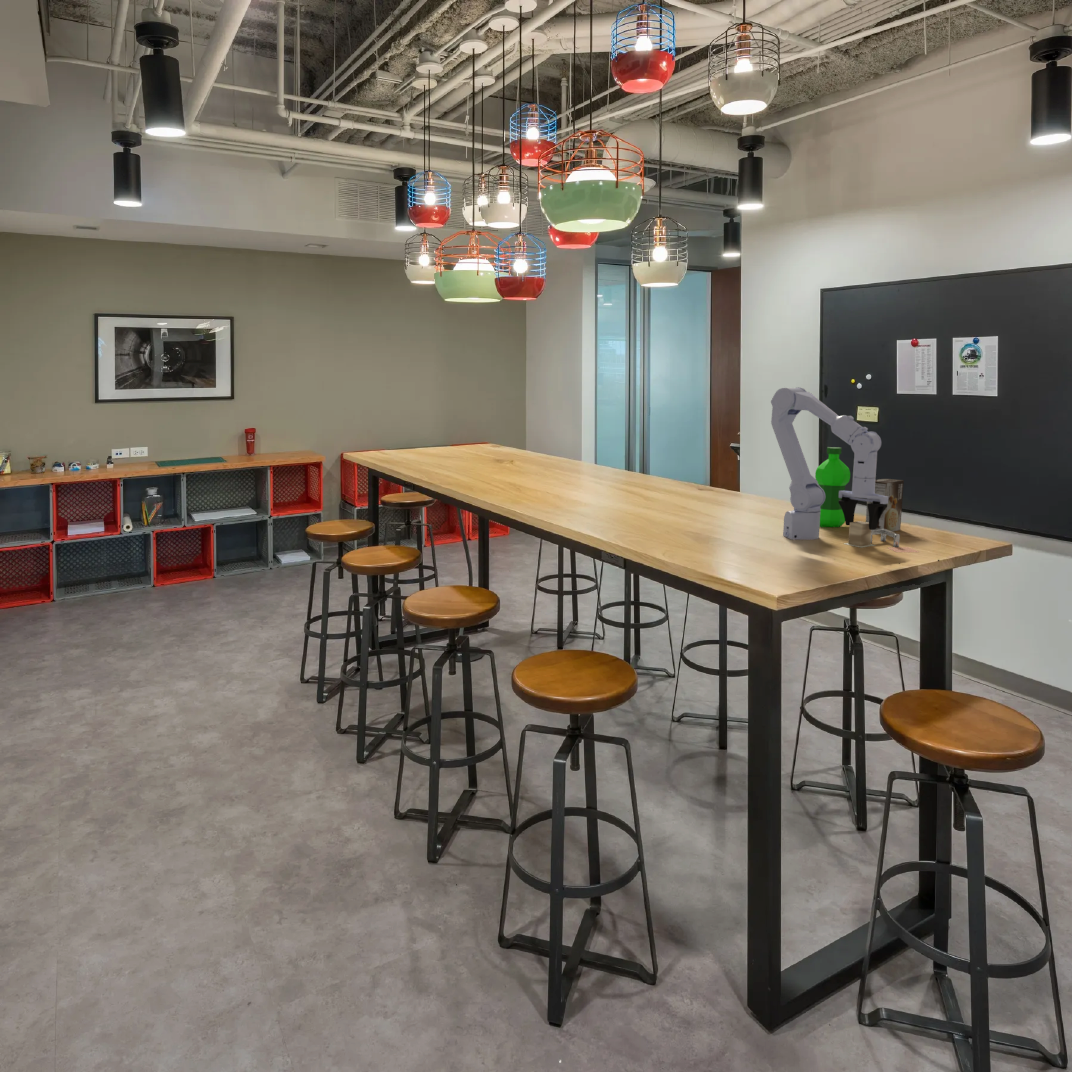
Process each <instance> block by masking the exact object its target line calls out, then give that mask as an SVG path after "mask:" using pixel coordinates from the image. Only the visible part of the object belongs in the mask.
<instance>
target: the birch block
mask: <svg viewBox="0 0 1072 1072" xmlns="http://www.w3.org/2000/svg"><path fill="white" fill-rule="evenodd" d="M848 526H849V528H848V529H849V530H848V540H847V541H848V542H847V543H848V544H851V545H856V546H866V545H870V543H871V530H870V529H869V523H868V522H866V521H862V520H859V521H854V522H850V525H848ZM871 544H872V543H871ZM851 545H850V546H851ZM856 546H855V547H856Z"/></svg>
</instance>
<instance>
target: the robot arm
mask: <svg viewBox="0 0 1072 1072" xmlns="http://www.w3.org/2000/svg"><path fill="white" fill-rule="evenodd" d="M771 398H772V399H771V400H770V403H771V407H772V408H771V409H772V410H771V421H770V422H771V423H770V424H771V427H772V429H773V432H774V435H775V438H776V440H777V443H778V446H779V450H780V451H781V455H782V457H783V460H784V463H785V466H786V468H787V469H786V470H787V471H788V474H789V478H790V480H791V482H790V485H789V487H788V488H789V491H790V498H789V499H790V504H791V506H792V507H793V509H792V510H787V511H786V512H785V513H784V516H783V517H784V518H783V530H782V531H783V532H782V533H783V534H782V535H783V537H785V538H786V539H790V540H818V539H820V528H821V527H820V511H821V508H820V507H821V505H822V504H823V503H824V501H825V492H824V490H823V489H822V488H821V487H820V486H819V484H818V482H817V480H816V478H815V476H813V475H812V474H811V472H810V468H809V466H808V463H807V460H806V458H805V455H804V453H803V450H802V447H801V444H800V442H799V439H798V437H797V432H796V430H795V427H794V425H793V422H794V421H795V419H796V417H797V416H798V415H799V413H801V412H802V411H808V412H809V413H811V414H812V415H814V416H816V417H817V418H818V419H820V420H822V421H823V422H824V423H826V424H828V425H829V426H830V431H831V433H833V434H834V435H835V436H836V437H838V438H840V440H842V441H843V442H845V443H846V444H847V445H848V446H850V448H851V451H852V452H853V453H854V455H853V456H854V458H853V471H852V486H851V490H845V491H844V490H843V491H839V498H842V499H841V500H839V501H838V503H839V504H840V506H841V508H842V511H843V514H844V518H845V523H844V524H845V526H850V522H855V510H856V507H857V504H858V501H863V502H867V501H868V502H873V503H869V504H867V503H866V508H867V507H868V511H869V529H870V530H873V529H876V528H877V525H878V522H879V519H880V517H881V515H882V513H883V512H884V510H885V509H886V507H887V504H888V496H883V495H879V494H875V480H877V479H876V477H877V475H876V474H877V462H878V451H879V450H880V449H881V447H882V439H881V436H880V435H879V434H878V433H877V432H876V431H868V430H869V428H868V427H866V426H862V425H860V424H859V423H857V421H856V420H854V419H855V418H854V417H853V416H852V415H846V414H843V415H838V414H837V413H836V412H835V411H834V410H833V409H831V408H829V406H827V405H826V404H825V403H824V402H822V401H821V400H820V399H818V397H816V396H815V395H814V394H813V393H812V392H810V391H807V390H806V389H805V388H803V387H781V388H779V389H777V390H776V391H775V393H774V394H773V396H772V397H771ZM870 499H871V500H870Z"/></svg>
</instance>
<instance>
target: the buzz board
mask: <svg viewBox="0 0 1072 1072" xmlns="http://www.w3.org/2000/svg"><path fill="white" fill-rule="evenodd" d="M843 544H844V545H847V546H853V547H856V548H857V547H858V548H866V547H867V548H868V547H873V546H876V544H873V543H871V544H870V545H866V546H856V545H851V544H848V542H845V543H843ZM887 549H889V550H891V551H894V552H895V553H919V551H918V550H917V549H913V548H911V547H909V546H907V547H906V546H905V547H904V546H903V547H901V546H899V547H893V546H892V547H889V546H888V547H887Z"/></svg>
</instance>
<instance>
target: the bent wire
mask: <svg viewBox="0 0 1072 1072" xmlns="http://www.w3.org/2000/svg"><path fill="white" fill-rule="evenodd" d="M873 535H880V539H879V541H880V542H886V541H887V536H889V537H891V538H893V543H892V544H893V545H892V547H900V537H901V534H899V533H896V532H895V531H893V532H891V531H889V530H887V529H879V530H871V543H870V544H873Z"/></svg>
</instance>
